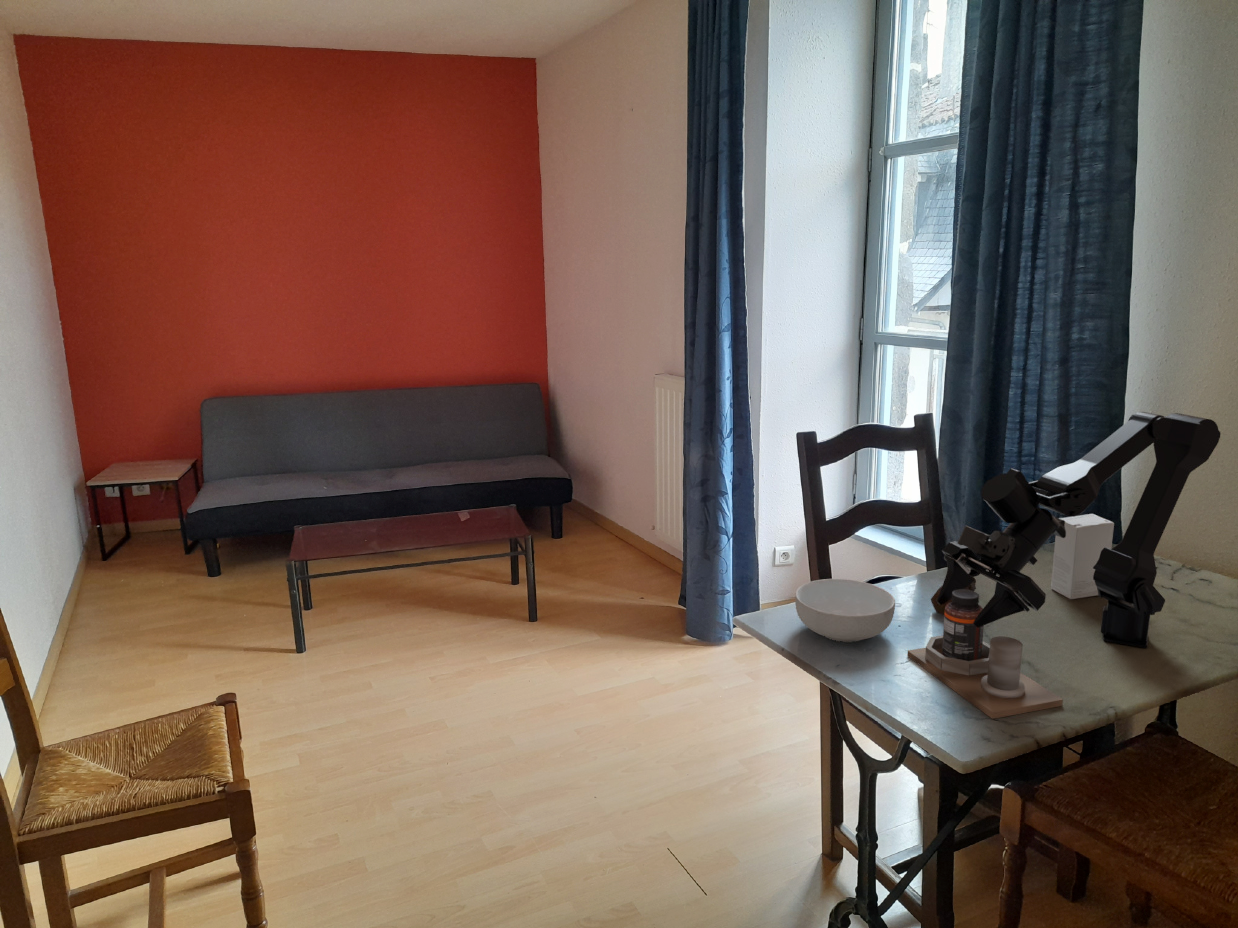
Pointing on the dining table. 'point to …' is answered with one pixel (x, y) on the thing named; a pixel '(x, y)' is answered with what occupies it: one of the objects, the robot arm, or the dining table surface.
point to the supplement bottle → (962, 627)
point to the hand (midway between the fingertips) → (956, 614)
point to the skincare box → (1080, 555)
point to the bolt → (941, 608)
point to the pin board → (986, 699)
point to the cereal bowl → (844, 608)
